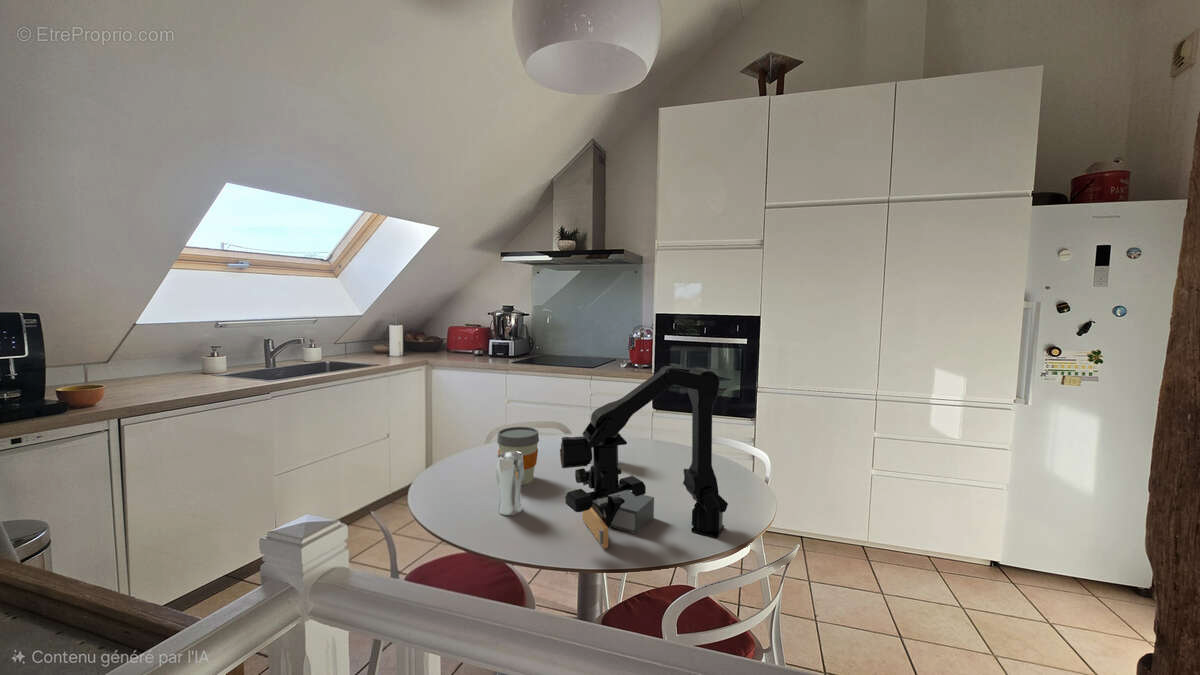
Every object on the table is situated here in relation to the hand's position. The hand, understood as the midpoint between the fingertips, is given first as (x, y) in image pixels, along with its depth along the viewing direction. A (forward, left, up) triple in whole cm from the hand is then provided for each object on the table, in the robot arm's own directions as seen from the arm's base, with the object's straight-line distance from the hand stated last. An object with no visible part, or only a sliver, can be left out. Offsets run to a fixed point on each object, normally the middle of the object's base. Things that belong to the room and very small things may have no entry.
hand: (606, 528), depth 114 cm
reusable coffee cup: (+41, -18, -3) cm, 45 cm away
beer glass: (+29, 0, -3) cm, 29 cm away
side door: (+4, 0, -2) cm, 5 cm away
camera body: (+2, -11, -3) cm, 12 cm away
